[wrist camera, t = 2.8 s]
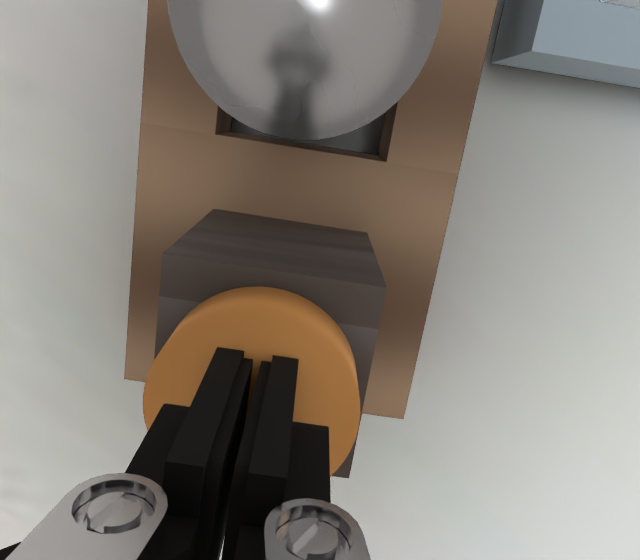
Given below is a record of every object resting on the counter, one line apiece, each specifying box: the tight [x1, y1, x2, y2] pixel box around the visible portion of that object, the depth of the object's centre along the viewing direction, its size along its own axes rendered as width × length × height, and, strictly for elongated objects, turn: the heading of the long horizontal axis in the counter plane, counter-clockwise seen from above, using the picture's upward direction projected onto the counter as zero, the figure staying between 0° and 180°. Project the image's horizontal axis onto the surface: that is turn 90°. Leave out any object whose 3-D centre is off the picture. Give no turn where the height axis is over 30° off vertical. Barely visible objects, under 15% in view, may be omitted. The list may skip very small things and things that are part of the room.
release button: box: [143, 286, 360, 476], centre depth 15 cm, size 4×4×8 cm
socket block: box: [124, 0, 498, 478], centre depth 16 cm, size 16×10×9 cm, turn 171°
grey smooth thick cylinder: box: [167, 0, 443, 140], centre depth 14 cm, size 4×4×12 cm
